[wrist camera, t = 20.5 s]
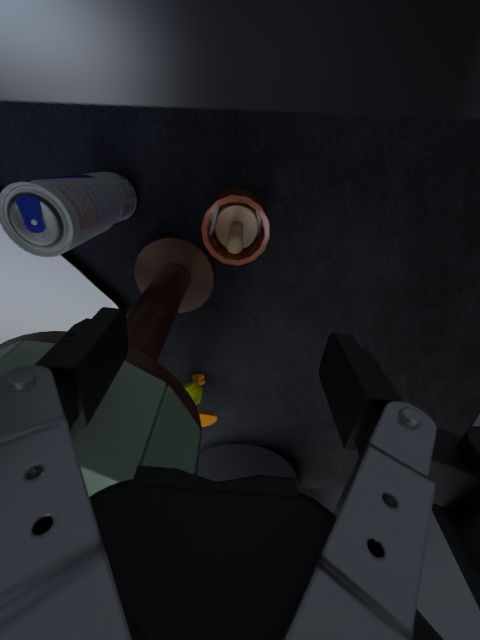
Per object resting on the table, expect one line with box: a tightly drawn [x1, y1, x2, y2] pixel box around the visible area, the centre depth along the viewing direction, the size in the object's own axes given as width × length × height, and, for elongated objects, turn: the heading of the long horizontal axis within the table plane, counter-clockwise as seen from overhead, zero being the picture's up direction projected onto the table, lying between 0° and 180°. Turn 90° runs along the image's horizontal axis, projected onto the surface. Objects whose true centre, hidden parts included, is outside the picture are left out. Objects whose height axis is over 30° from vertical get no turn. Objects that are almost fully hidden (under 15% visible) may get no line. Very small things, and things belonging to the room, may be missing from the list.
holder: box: [201, 188, 270, 265], centre depth 31 cm, size 6×6×8 cm
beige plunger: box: [215, 201, 258, 254], centre depth 28 cm, size 5×5×12 cm
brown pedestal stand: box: [0, 236, 215, 443], centre depth 27 cm, size 13×13×25 cm
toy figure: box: [184, 374, 217, 427], centre depth 41 cm, size 7×4×12 cm, turn 98°
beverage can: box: [0, 172, 137, 257], centre depth 26 cm, size 5×5×15 cm
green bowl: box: [0, 340, 201, 497], centre depth 14 cm, size 13×13×5 cm
